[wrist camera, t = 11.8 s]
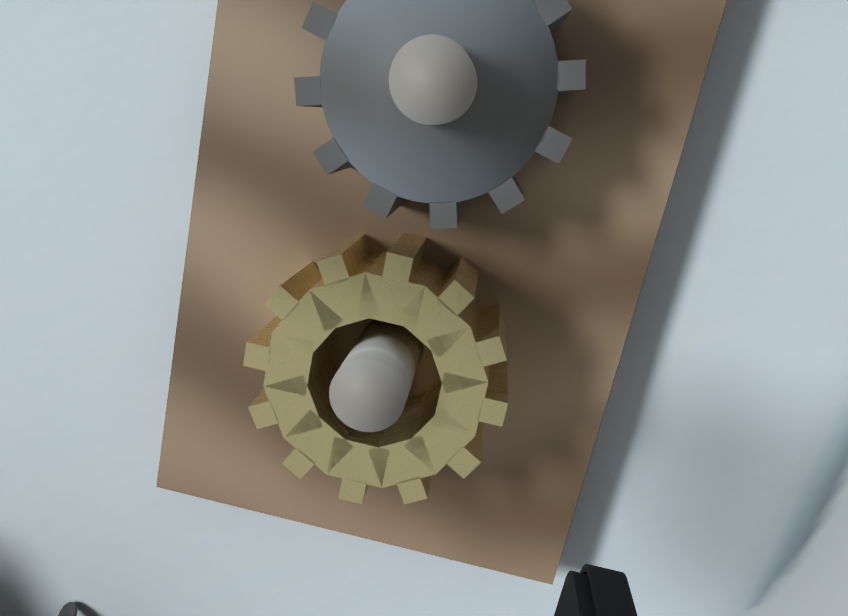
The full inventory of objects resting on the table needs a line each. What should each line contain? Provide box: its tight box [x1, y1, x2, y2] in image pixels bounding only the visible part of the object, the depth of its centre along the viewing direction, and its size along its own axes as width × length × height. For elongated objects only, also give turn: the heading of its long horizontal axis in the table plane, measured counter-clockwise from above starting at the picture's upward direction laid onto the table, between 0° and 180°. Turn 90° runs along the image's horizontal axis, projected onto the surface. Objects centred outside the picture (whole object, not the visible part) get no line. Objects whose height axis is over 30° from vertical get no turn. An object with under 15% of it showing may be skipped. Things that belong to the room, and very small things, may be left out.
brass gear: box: [243, 232, 508, 504], centre depth 22 cm, size 7×7×4 cm
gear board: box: [157, 0, 727, 585], centre depth 21 cm, size 22×14×6 cm, turn 168°
